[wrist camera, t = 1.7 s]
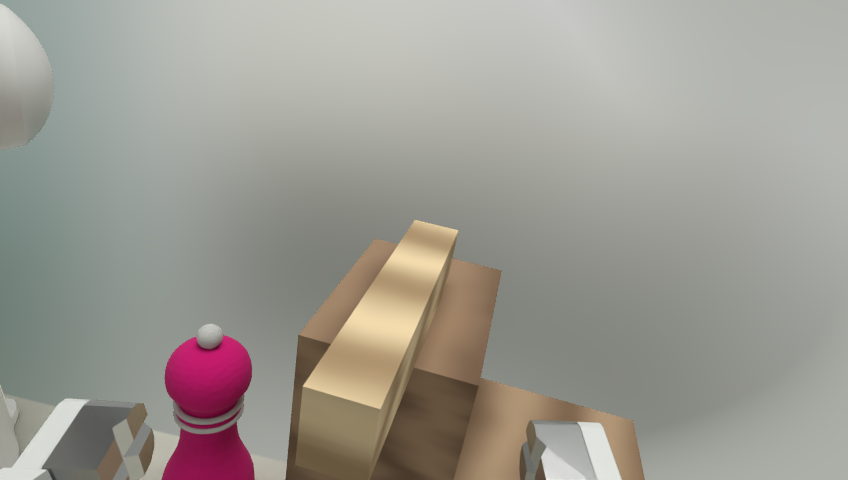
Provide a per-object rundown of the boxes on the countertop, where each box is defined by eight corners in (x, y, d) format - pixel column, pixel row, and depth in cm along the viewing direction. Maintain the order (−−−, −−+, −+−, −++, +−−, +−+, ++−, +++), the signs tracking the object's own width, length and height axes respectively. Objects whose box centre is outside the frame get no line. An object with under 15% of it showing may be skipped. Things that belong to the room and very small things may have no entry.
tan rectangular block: (366, 487, 21) (380, 409, 19) (294, 465, 21) (302, 386, 20) (447, 282, 37) (458, 230, 36) (405, 271, 38) (415, 219, 36)
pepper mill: (205, 471, 50) (206, 288, 42) (269, 505, 48) (283, 320, 40) (141, 532, 44) (127, 332, 36) (211, 575, 42) (214, 372, 34)
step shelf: (272, 624, 40) (298, 334, 29) (340, 478, 52) (375, 238, 42) (583, 736, 37) (739, 459, 26) (575, 552, 49) (678, 315, 39)
